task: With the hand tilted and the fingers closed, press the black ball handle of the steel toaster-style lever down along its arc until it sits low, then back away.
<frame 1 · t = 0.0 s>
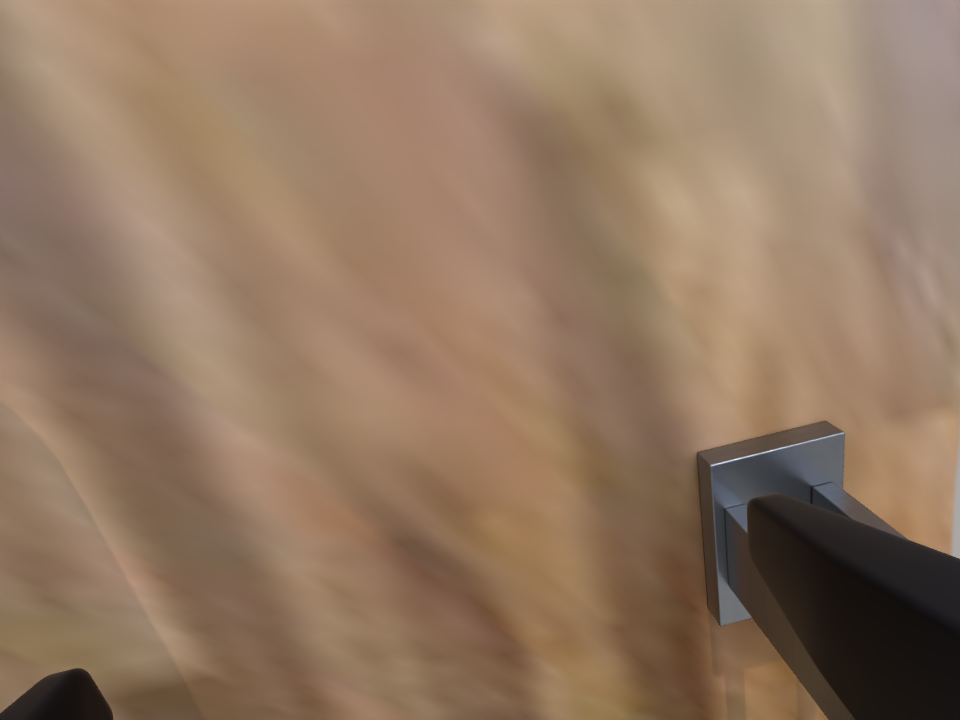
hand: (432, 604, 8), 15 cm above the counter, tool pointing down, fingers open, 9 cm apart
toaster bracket: (763, 519, 27), on the counter
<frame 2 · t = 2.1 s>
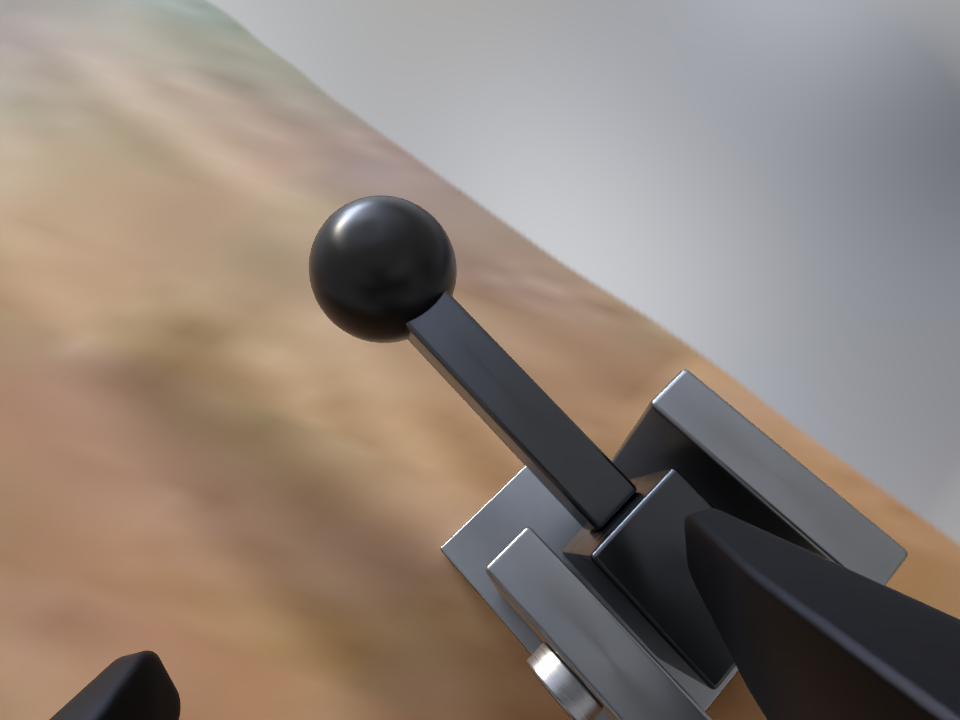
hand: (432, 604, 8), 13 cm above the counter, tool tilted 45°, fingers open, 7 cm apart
toaster lever: (515, 409, 11), point 11 cm above the counter, hinge at 10.0°
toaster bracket: (594, 588, 20), on the counter
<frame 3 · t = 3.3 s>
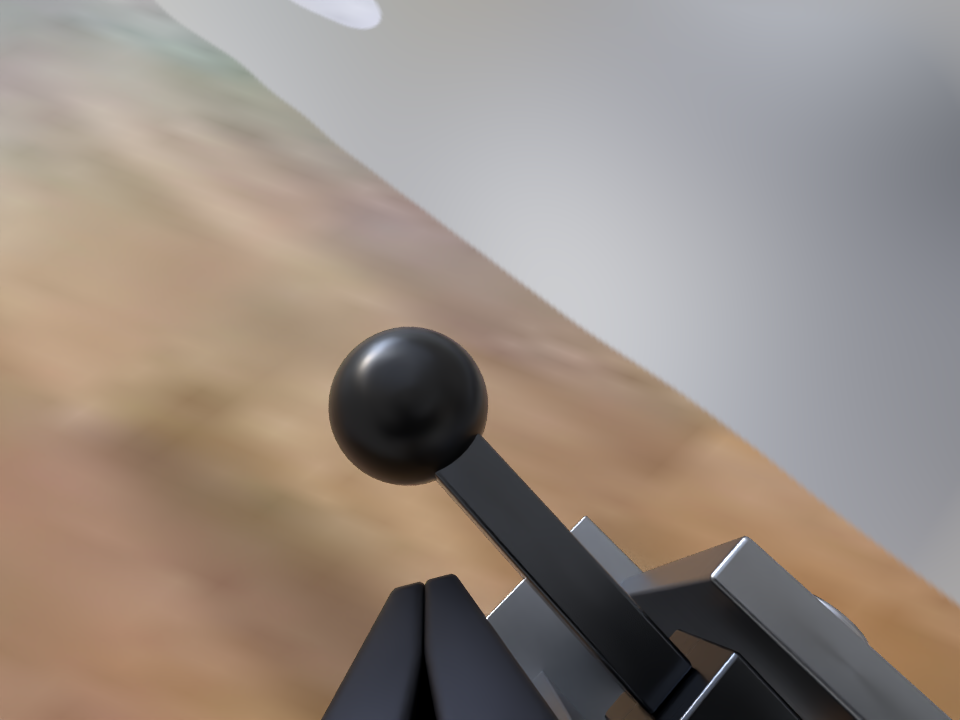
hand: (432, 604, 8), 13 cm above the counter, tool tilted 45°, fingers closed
toaster lever: (554, 565, 10), point 11 cm above the counter, hinge at 10.0°
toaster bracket: (621, 687, 19), on the counter
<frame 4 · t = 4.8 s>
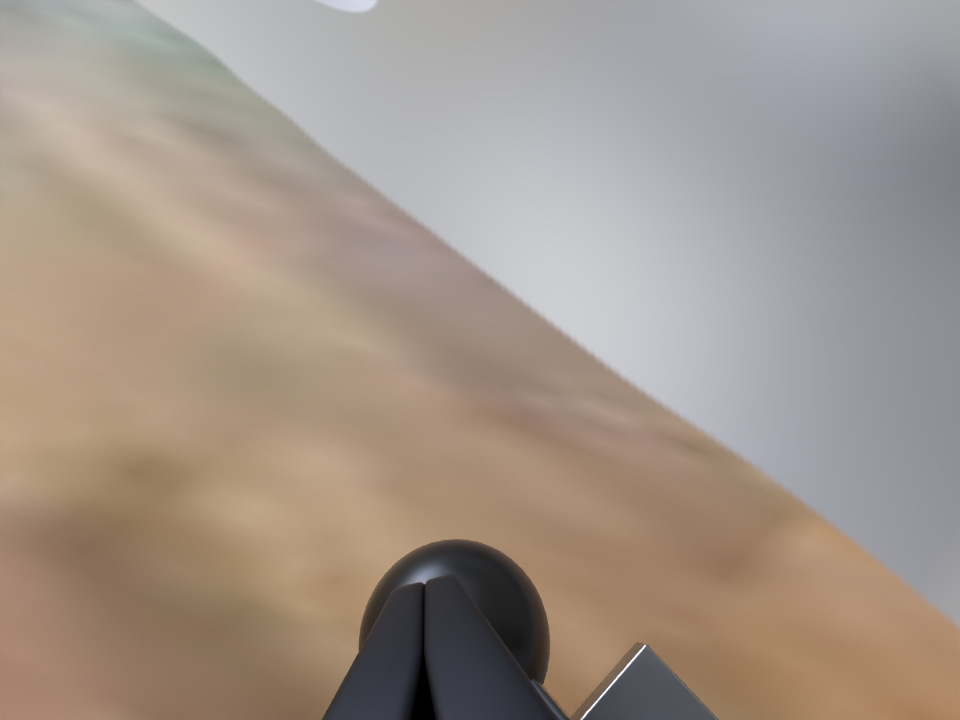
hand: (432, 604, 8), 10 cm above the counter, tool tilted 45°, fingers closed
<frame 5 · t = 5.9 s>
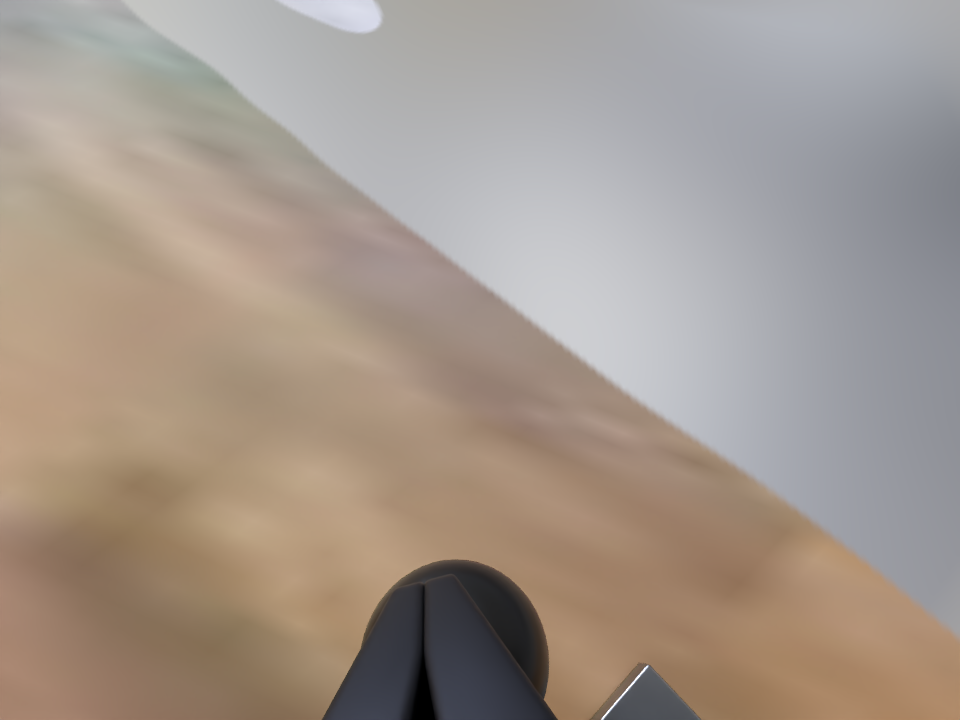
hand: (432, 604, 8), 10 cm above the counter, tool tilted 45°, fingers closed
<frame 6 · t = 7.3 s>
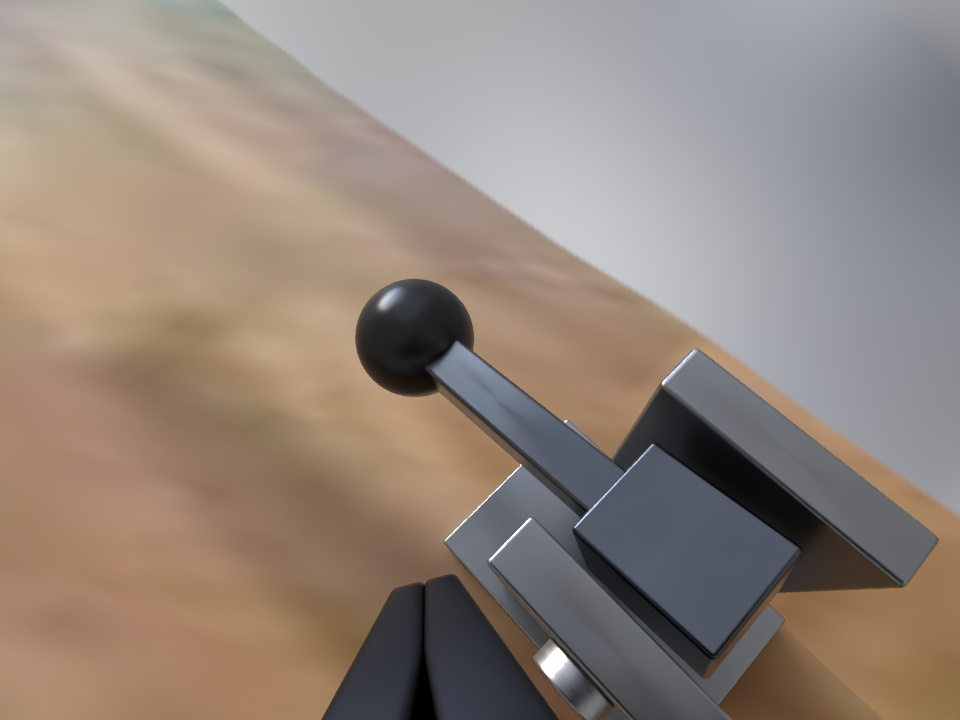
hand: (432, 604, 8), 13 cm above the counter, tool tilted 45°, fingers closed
toaster lever: (521, 426, 12), point 9 cm above the counter, hinge at -16.8°
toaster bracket: (602, 580, 19), on the counter
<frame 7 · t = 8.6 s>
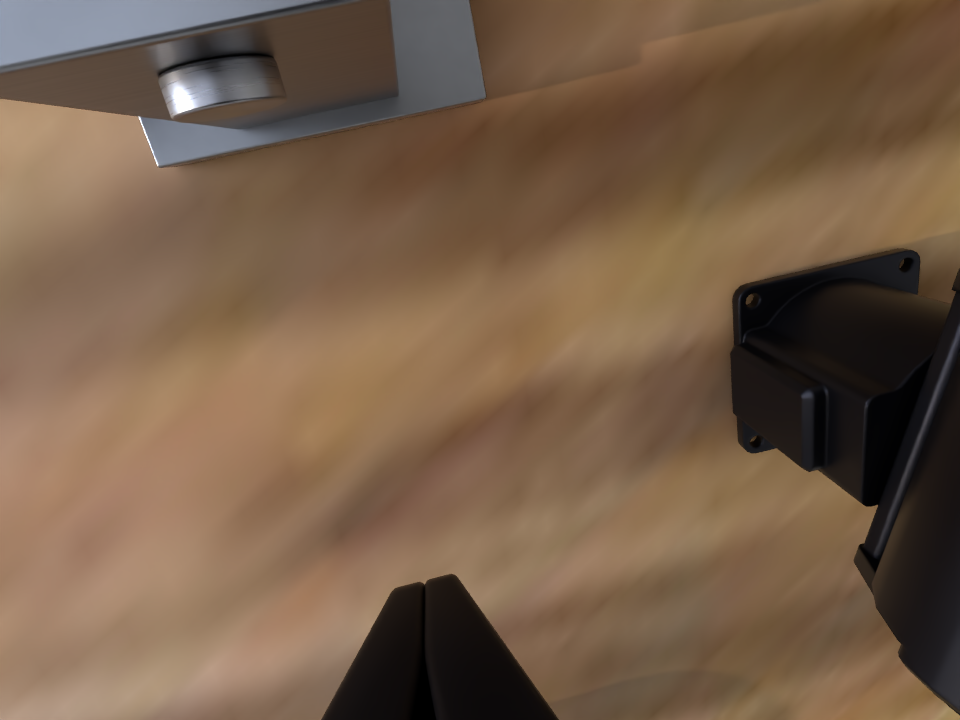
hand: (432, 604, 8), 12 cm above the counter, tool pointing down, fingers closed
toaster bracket: (297, 16, 15), on the counter
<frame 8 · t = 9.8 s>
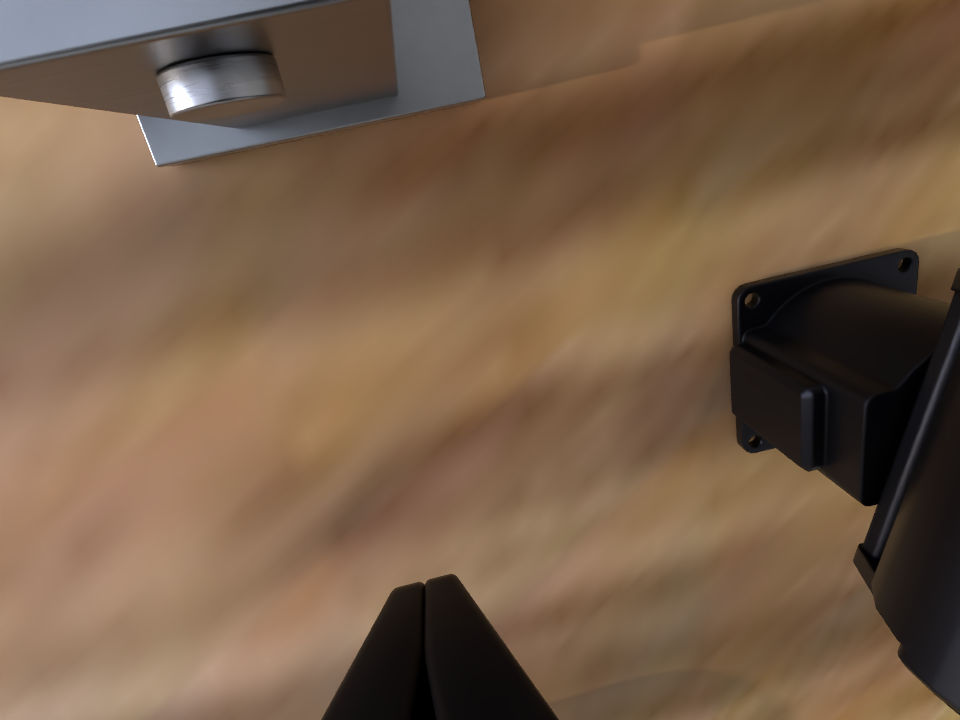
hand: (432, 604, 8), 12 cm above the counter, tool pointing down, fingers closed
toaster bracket: (296, 15, 15), on the counter
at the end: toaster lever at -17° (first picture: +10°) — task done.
